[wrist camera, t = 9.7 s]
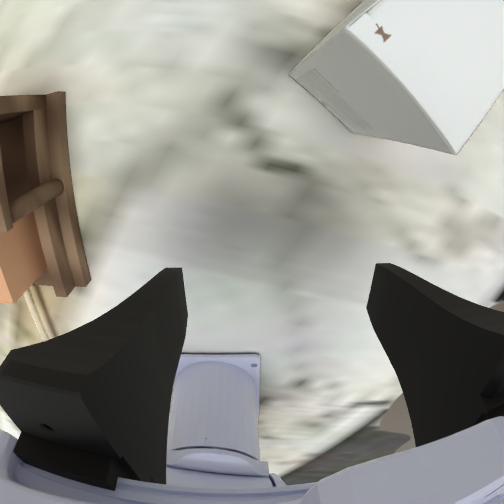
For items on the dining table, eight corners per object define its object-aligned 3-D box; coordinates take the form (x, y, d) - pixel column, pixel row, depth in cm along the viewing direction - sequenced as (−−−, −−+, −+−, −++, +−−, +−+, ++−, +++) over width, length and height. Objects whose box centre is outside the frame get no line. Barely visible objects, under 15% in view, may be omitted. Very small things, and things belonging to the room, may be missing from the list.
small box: (351, 134, 18) (455, 163, 8) (285, 73, 16) (340, 29, 6) (420, 60, 15) (535, 47, 6) (362, 0, 14) (454, -62, 4)
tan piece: (86, 368, 24) (68, 409, 19) (38, 361, 24) (18, 396, 19) (33, 203, 17) (-10, 230, 13) (-16, 210, 17) (-56, 235, 12)
